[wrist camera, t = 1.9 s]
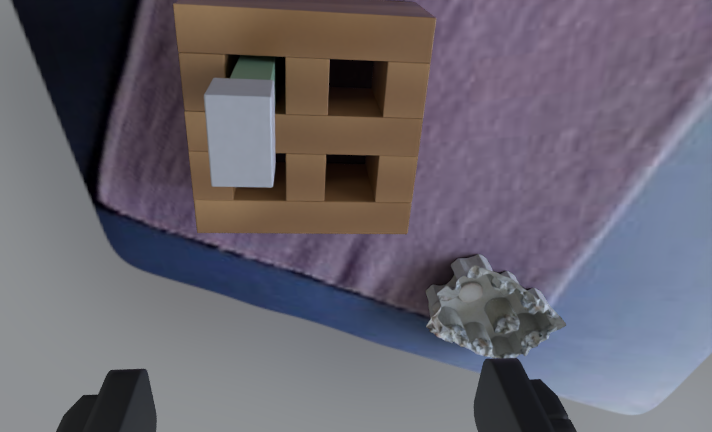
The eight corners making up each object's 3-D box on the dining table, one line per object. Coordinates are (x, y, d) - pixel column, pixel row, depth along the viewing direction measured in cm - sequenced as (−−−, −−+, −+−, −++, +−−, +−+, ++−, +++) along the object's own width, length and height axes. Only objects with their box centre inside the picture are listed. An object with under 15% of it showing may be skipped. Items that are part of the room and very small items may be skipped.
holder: (194, -11, 31) (172, 3, 26) (415, 2, 32) (436, 17, 27) (211, 190, 38) (196, 233, 33) (393, 192, 39) (407, 234, 34)
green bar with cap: (241, 26, 32) (203, 94, 20) (283, 28, 33) (271, 96, 20) (244, 89, 34) (211, 187, 22) (283, 90, 35) (273, 188, 22)
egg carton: (411, 297, 45) (421, 330, 41) (473, 238, 42) (488, 268, 39) (494, 349, 49) (508, 383, 45) (554, 298, 46) (575, 329, 42)
